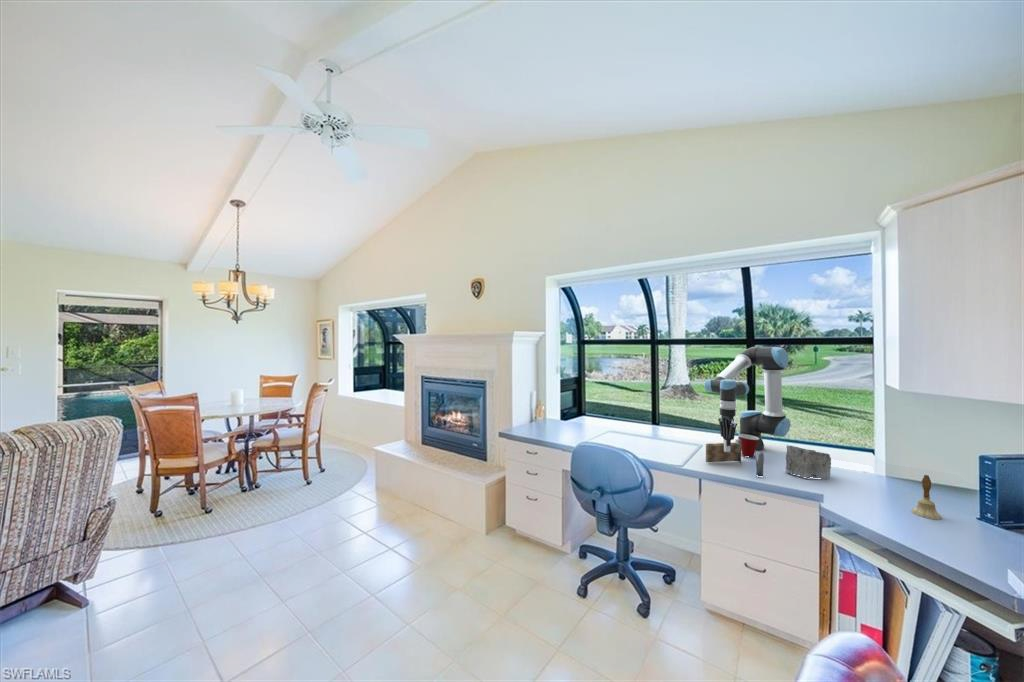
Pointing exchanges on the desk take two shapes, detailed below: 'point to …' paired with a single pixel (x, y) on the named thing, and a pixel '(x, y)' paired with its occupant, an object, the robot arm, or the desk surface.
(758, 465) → the gate frame
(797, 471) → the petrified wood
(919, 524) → the desk surface
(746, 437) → the plastic cup
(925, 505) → the hand bell
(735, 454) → the gate
